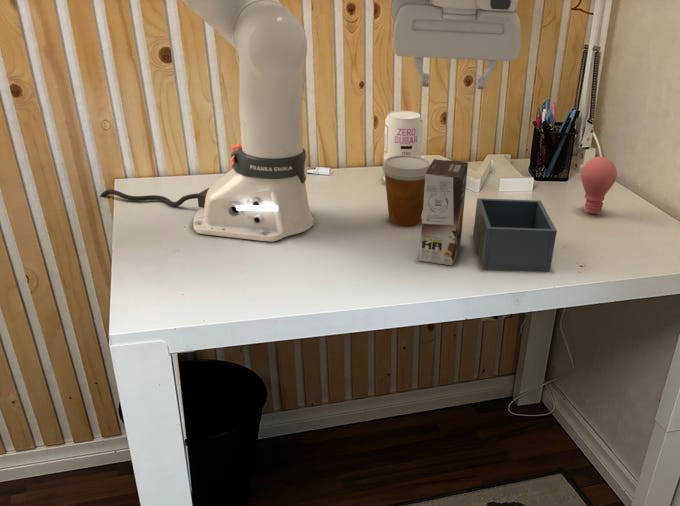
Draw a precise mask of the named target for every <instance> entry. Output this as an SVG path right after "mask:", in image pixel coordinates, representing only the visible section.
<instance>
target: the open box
mask: <svg viewBox="0 0 680 506" xmlns="http://www.w3.org/2000/svg"><path fill="white" fill-rule="evenodd" d="M475 205H476V206H475V215H474V225H473V233H472V234H473V235H472V239H473V242H474V245H475V248H476V252H477V256H478V259H479V263H480V267H481V270H482V271H507V272H508V271H509V272H511V271H512V272H539V273H540V272H546V273H550V272H551V267H552V263H553V255H554V249H555V244H556V238H557V232H558V231H557V229H556V227H555V225H554V222H553V221H552V219H551V217H550V215H549V214H548V211H547V210H546V207H545V206H544V203H543V202H542V200H537V199H535V200H533V199H511V198H510V199H509V198H508V199H507V198H505V199H504V198H482V197H481V198H480V197H479V198H478V197H477V198H476V204H475Z"/></svg>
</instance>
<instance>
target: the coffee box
mask: <svg viewBox="0 0 680 506" xmlns="http://www.w3.org/2000/svg"><path fill="white" fill-rule="evenodd" d="M468 165H469V162H468V161H461V160H449V159H437V158H433V160H432V162H430V167H429V168H428V170H427V171H426V173H425V186H424V200H423V211H422V216H421V229H420V230H421V231H420V233H421V234H420V244H419V245H420V246H419V257H418V258H419V259H418V260H419V261H420V262H426V263H432V264H440V265H446V266H453V265H454V263H455V261H456V258H457V255H458V253H459V250H460V247H461V244H462V243H461V242H462V234H463V233H462V232H463V220H464V209H465V200H466V199H465V197H466V190H467V179H468V178H467V177H468V169H469V166H468Z"/></svg>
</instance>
